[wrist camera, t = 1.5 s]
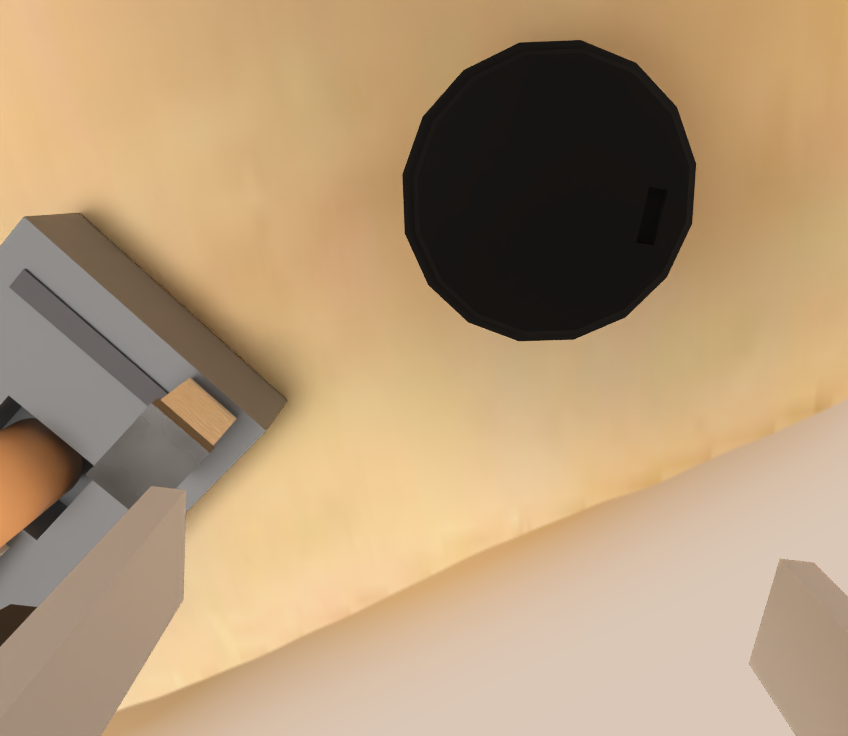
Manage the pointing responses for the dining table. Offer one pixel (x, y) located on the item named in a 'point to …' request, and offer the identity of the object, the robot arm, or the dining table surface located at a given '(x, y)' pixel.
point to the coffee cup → (548, 190)
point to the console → (101, 380)
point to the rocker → (3, 549)
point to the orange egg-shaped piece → (32, 473)
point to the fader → (162, 444)
